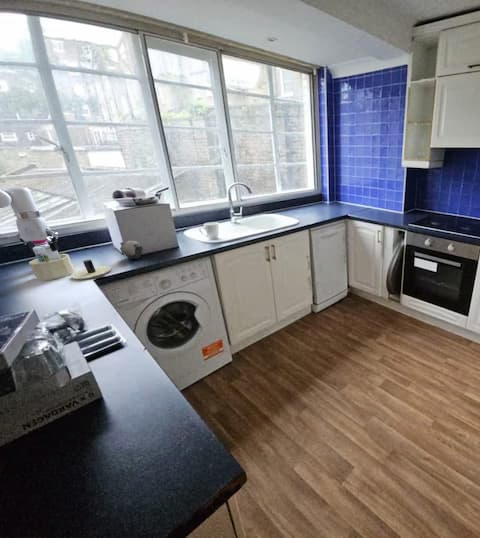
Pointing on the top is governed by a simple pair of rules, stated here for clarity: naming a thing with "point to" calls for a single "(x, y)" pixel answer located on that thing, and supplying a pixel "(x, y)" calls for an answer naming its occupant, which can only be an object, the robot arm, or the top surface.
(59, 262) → the pot
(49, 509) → the top surface
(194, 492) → the top surface
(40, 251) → the syrup box
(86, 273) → the lid
